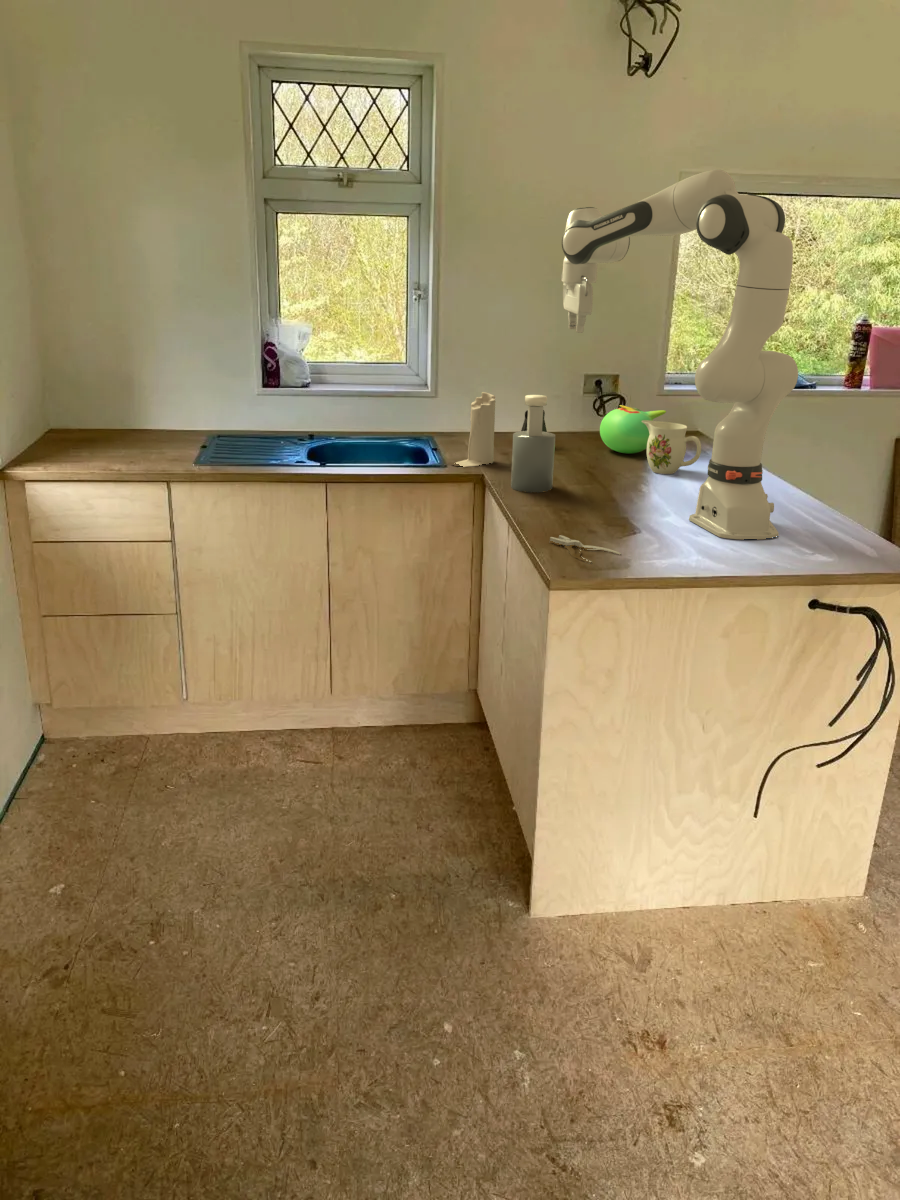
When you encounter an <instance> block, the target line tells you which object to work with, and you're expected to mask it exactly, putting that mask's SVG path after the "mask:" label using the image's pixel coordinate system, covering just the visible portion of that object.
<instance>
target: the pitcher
mask: <svg viewBox="0 0 900 1200" xmlns="http://www.w3.org/2000/svg"><path fill="white" fill-rule="evenodd" d="M642 422H643V423H644V424H645V425H646V426H647V428H648V430H649V434H650V435H649V438H648V442H647V448H646V457H647V458H646V459H647V463H648V466H649V467H650V469H651V471H652V472H653V473H655V474H659V475H674V474H676V472H677V471H678V470H679V469H680V468H681V467H687V466H691V465H693V464H694V463H696V462H697V461H699V458H700V457H701V453H702V443H701V441H700V440H701V439H699V438H698V436H694V435H689V436H686V432H687V430H688V426H687V425H686V424H682V423H677V422H669V421H658V420H653V421H650V420H642ZM690 441H692V442H694V444H695V445H696V453H695V455H694V457H693V458H691V459H689V460H687V461H685V460H684V459H685V455H686V451H687V442H690Z"/></svg>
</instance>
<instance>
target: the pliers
mask: <svg viewBox="0 0 900 1200" xmlns="http://www.w3.org/2000/svg"><path fill="white" fill-rule="evenodd" d="M550 541H553V542H555V543H559V544H562V546H564V545H566V546H570V545H575V547H576V546H579V547H584V548H593V549H587V550H604V551H608V552H607V553H609V552H613V553H616V554H619V555H620V554H621V555H622V553H621V552H619V551H616V550H613V549H610V548H607V547H601V546H595V545H585V544H583V542H581V541H580V540H576V539H571V538H569V537H567V536H565V535H563V534H561V535H558V537H553V536H550V537H549V542H550ZM579 550H580V551H582V549H579ZM604 551H603V552H604ZM616 554H615V555H616ZM619 555H618V556H619ZM621 555H620V556H621ZM581 557H582V558H583V559H586V561H588V560H589V559H587V558H585V557H583V556H581ZM589 562H592V563H593V561H591V560H589Z"/></svg>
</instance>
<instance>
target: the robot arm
mask: <svg viewBox="0 0 900 1200" xmlns="http://www.w3.org/2000/svg"><path fill="white" fill-rule="evenodd" d="M785 214H786V213H785V211H784V209H783V207H782V206H781V204H779V203H778V202H777V201H775V200H773V199H771V198H769V197H766V196H764V195H759V194H754V193H746V194H745V193H739V192H738V191H737V188H736V184H735V181H734V179H733V178H732V176H731V174H729V173H728V172H727V171H725V170H723V169H711V170H707V171H703V172H700V173H696V174H693V175H691V176H688V177H686V178H683V179H681V180H679V181H677V182H674V184H671V185H670V186H667V187H665V188H663V189H662V190H659V191H658V192H656V193H654V194H652V195H650V196H647V197H645V198H643V199H640V200H639V201H637V202H635V203H632V204H629V205H627V206H625V207H622V208H620V209H618V210H617V209H616V210H615V211H613V212H610V213H608V214H605V215H604V214H602V213H601V211H600V209H599V208H597V207H595V206H594V207H593V206H585V207H579V208H575V209H573V210H572V211H570V212H569V214H568V216H567V220H566V224H565V230H564V232H563V234H562V237H561V249H562V251H563V252H562V253H563V254H564V258H563V263H562V272H561V279H560V280H561V282H562V283H563V284H562V304H563V309H564V310H565V311H567V313H568V314H567V318H568V329H569V330H575V332H576V333H584V330H585V324H586V320H587V316H591V315H592V312H593V300H594V299H593V298H594V297H593V295H594V293H593V290H594V288H593V285H592V284H595V283H597V277H598V276H597V274H598V264H612V263H616V262H617V263H618V262H620V261H621V260H624V258H625V257H626V255H627V253H628V251H629V250H630V249H629V248H630V244H631V237H636V236H637V237H638V236H652V237H653V236H655V237H671V236H672V237H673V236H678V235H682V234H687V233H690V232H693V231H695V230H696V233H697V235H698V237H699V239H700V240H701V241H702V242H703V243H704V244H706V245H707V246H709V247H712V248H714V249H716V250H718V251H720V252H722V253H723V254H726V255H728V256H730V255H733V254H735V255H736V256H737V258H738V261H739V262H738V263H739V266H738V267H739V269H738V275H737V278H736V279H737V280H736V287H735V292H734V298H733V304H732V307H731V312H730V317H729V320H728V323H727V326H726V328H725V331H724V332H723V334H722V337H721V338H720V340H719V342H718V343H717V344H716V346H715V348H714V349H713V350H712V351H711V352H710V354H708V355H707V356H706V357H705V358H704V359H702V360H701V361H700V363H699V364H698V366H697V368H696V371H695V373H694V374H695V375H694V384H695V388H696V391H697V393H698V395H699V396H700V397H701V398H702V399H703V400H705V401H709V402H713V403H719V404H732V403H733V406H732V408H731V410H730V411H729V413H728V414H727V415H726V416H725V417H724V418H722V420H720V421H719V422H718V423H717V425H716V426H715V429H714V432H713V433H714V434H713V443H712V451H711V456H710V457H711V458H710V459H709V461H708V464H707V478H706V480H705V481H704V482H703V483H702V484H701V485H700V487H699V491H698V496H697V500H696V507H695V513H692V514H690V515H689V517H688V520H689V521H690V522H691V523H693V524H695V525H697V526H698V527H701V529H704V530H706V531H707V532H709V533H711V534H713V535H715V536H716V537H719V538H722V539H723V538H724V539H729V540H730V539H731V540H744V539H757V540H767V539H766V538H772V537H776V536H779V535H780V534H779V531H778V529H777V528H776V527H775V525H774V524H773V523H772V522H771V520H770V518H771V514H773V513H774V511H775V503H774V502H769V501H768V493H766V492H765V490H764V488H763V484H762V481H763V473H764V471H763V464H762V454H763V451H764V450H763V449H764V444H765V440H766V439H765V438H766V434H767V429H768V427H769V424H770V421H771V419H772V417H773V415H774V413H775V412H776V410H777V408H778V406H780V403H781V402H782V401H783V400H784V399H785V397H786V396H788V395H789V394H790V393H791V392H793V390H794V389H795V387H796V385H797V383H798V379H799V369H798V364H797V363H796V361H795V359H794V358H793V357H792V356H791V355H789V354H786V353H783V352H779V351H773V350H763V348H764V345H765V344H766V343H767V341H768V340H769V339H770V338H771V336H773V335H774V334H775V333H777V332H778V331H779V330H780V329H781V327H782V326H783V323H784V320H785V314H786V309H787V303H788V298H789V293H790V288H791V281H792V274H793V273H792V272H793V264H794V263H793V260H794V259H793V258H794V257H793V256H794V253H793V251H794V247H793V243H792V240H791V238H790V237H789V236H788V235H786V234H784V233H783V231H784V228H785V225H786V215H785ZM776 538H777V537H776ZM772 539H773V538H772Z"/></svg>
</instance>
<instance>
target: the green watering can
mask: <svg viewBox="0 0 900 1200" xmlns="http://www.w3.org/2000/svg"><path fill="white" fill-rule="evenodd" d="M666 413H667V411H666V410H663V409H662V410H661V409H660V410H658V409H657V410H650V411H643V410H641V409H639V408H636V407H631V406H626V405H622V404H620V405H619V407H618V408H615V409H613V410H610V411H609V412H608V413H607V414H606V415H604V417H603V418H602V420H601V422H600V425H599V435H600V438H601V440H602V442H603V443H604V444H605V445H606V447H608V448H609V449H611V450H612V451H615V452H616V453H617V452H618V453H622V454H627V455H628V454H630V455H631V454H638V453H640V452H643V451H645V450H647V442H648V438H649V435H650V434H649V430H648V428H647V426H646V425H645V424H644V423H643V422H642V420H650V421H654V419H656V418H659V417H661V416H663V415H665V414H666Z"/></svg>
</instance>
